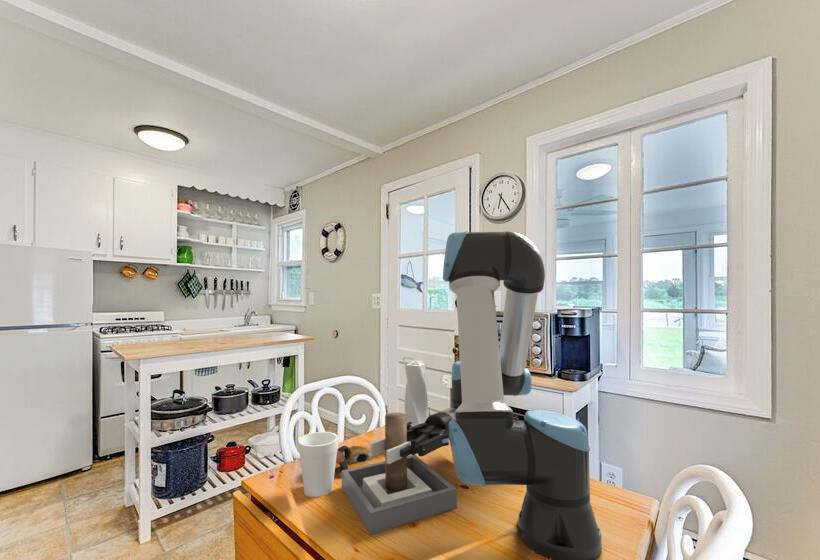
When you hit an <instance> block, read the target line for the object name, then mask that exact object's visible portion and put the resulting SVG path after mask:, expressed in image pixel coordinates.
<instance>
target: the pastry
mask: <svg viewBox="0 0 820 560" xmlns="http://www.w3.org/2000/svg"><path fill="white" fill-rule="evenodd" d="M348 448H349V449H350V452H351V454H350V458H349V461H348V463H349V464H350V465H356V464H360V463H364V462H370V461H371V460H372V458H373V456H370V449H368V448H367V447H364V446H362V445H352V446H350V447H348Z"/></svg>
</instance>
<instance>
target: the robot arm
mask: <svg viewBox="0 0 820 560" xmlns="http://www.w3.org/2000/svg"><path fill="white" fill-rule="evenodd" d="M444 251H445V252H444V259H443V268H442V280H443V281H444V282H447V283H449V284H448V286H449V290H450V291H451V292H453V294H455V295H456V311H457V313H456V314H457V331H458V334H457V335H458V349H459V360H457V361H455V362H453V363H452V366H451V377H450V379H451V407H449V408H445V409H443V410H441V411H440V410H439V412H435V413H433V414H431V415H430V416H429V415H428V416H427V419H426V421H425V423H422V424H418V425H417V426H414V425H412V422H408V423H407V442H406V443H404V444H401V445H399V446H396V447H394V448H391V449H389V450H387V451H386V463H387V464H391V463H393V462H395V461H397V460H399V459H401V458H404V457H407V456H411V455H418V456H419V457H424V456H427V455H428V454H431V453H432V452H434V451H436V450H438V449H440V448H443V447H447V446H450V451H451V456H452V460H453V461H452V462H453V465H454V469H455V474H456V476H457V478H458V479H459V481H460V482H461V483H462V484H465V485H469V486H481V487H486V486H526V487H525V488H526V489H525V494H524V498H523V501H522V504H521V508H520V511H519V513H518V516H517V517H518V518H517V530H518V536H519V537H520V539H521V540H522V541H523V542H522V543H524V544H525V545H526V546H527V547H528V548H529V549H531V550H532V551H533V552H535V553H537V554H538V555H540V556H542V557H544V558H547V559H549V558H550V559H549V560H552V559H553V560H595V559H596V558H598V557H599V556H600V554H601V553H602V552H601V551H602V548H603V547H602V546H603V545H602V543H603V542H602V532H601V529H600V527H599V525H598V524H597V520H596V517H595V513H594V510H593V507H592V504H591V494H590V493H591V490H590V489H591V488H590V487H591V484H590V482H591V481H590V479H591V478H590V450H591V449H590V445H589V436H588V435H589V434H588V430H587V428H586V426H585V425H584V424H583V423H582V422H580V421H579V420H577V419H575V418H573V417H572V416H568V415H566V414H562V413H561V412H560V413H559V412H555V411H550V410H546V409H545V410H543V409H532V410H527V411H526V412H525V413H524V416H523V420H522V419H520V420H519V419H516V420H515V419H514V411H513V409H512V408H511V407H510V406H509V405H508V404H507V403H506V402H505V397H504V396H510V397H511V396H514V397H516V396H527V395H529V394H530V393H531V391H532V376H531V372H530V371H529V369H528V368H526V364H527V360H528V359H527V358H528V353H529V347H530V342H531V337H532V336H531V334H532V330H533V325H534V318H535V313H536V308H537V307H536V306H537V301H538V296H539V293H541V292H542V291H543V289H544V287H545V286H544V285H545V280H546V272H545V271H546V270H545V265H544V261H543V259H542V255H541V253H540V252H539V250H538V248H537V246H536V245H535V244H534V243H533V241H532V240H530V239H529V237H526V236H525V235H523V234H521V233H518V232H515V231H471V232H470V231H469V232H468V231H467V230H466V231H464V232H463V231H461V232H452V233H450V234H449V235H448V236H447V239H446V244H445V250H444ZM501 281H502V283H503V286H504V288H505V289H506V292H505V301H504V308H503V309H504V310H503V317H502V324H501V333H500V341H499V333H498V332H499V331H498V322H497V310H496V301H495V299H496V298H495V292H496V291H497V290H498V289H499V287H501ZM408 441H411V445H410V443H409V442H408ZM424 447H425V449H424ZM369 452H370V456H372V457H374V456H376V455H378V454H381V453H384V452H385V437H383V438H381V439H378V440H376V441H373V442H369Z"/></svg>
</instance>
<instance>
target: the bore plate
mask: <svg viewBox="0 0 820 560" xmlns="http://www.w3.org/2000/svg"><path fill="white" fill-rule="evenodd" d="M386 491H389V490H387V489H386V487H385V473H383V474H379V475H375V476H371V477H366V478H363V492H364V494H365V495H366V496H367V498H368V499H369V501H370V502H371V503H372V505H373V506H374V508H378V507H381V506H385V505H389V504H392V503H396V502H399V501H403V500H407V499H410V498H414V497H417V496H421V495H425V494H428V493H432V489H431V488H429V487H428V486H427V485H426V484H425V483H424V482H423V481H422V480H421V479H420V478H419V477H418V476H416V475H415V474H414V473H413V472H412V471H411V470H410V469H409V468H407V488H406V490H404V491H400V492H396V493H392V494H389V495H388V494H387V493H386Z"/></svg>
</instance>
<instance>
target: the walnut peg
mask: <svg viewBox="0 0 820 560" xmlns="http://www.w3.org/2000/svg"><path fill="white" fill-rule="evenodd" d="M384 425H385V426H384V438H385V451H384V452H385V454H384V457H385V460H384V461H385V487H386V489H387V490H389V491H393V492H398V491H402V490H404V489H406V488H407V457H404V458H401V459H399V460H397V461H395V462H393V463H391V464H387V463H386V451H387V450H389V449H391V448H394V447H396V446H399V445H401V444H404V443H406V442H407V415H406V414H405V412H389V413H387V414H385V416H384Z"/></svg>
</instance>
